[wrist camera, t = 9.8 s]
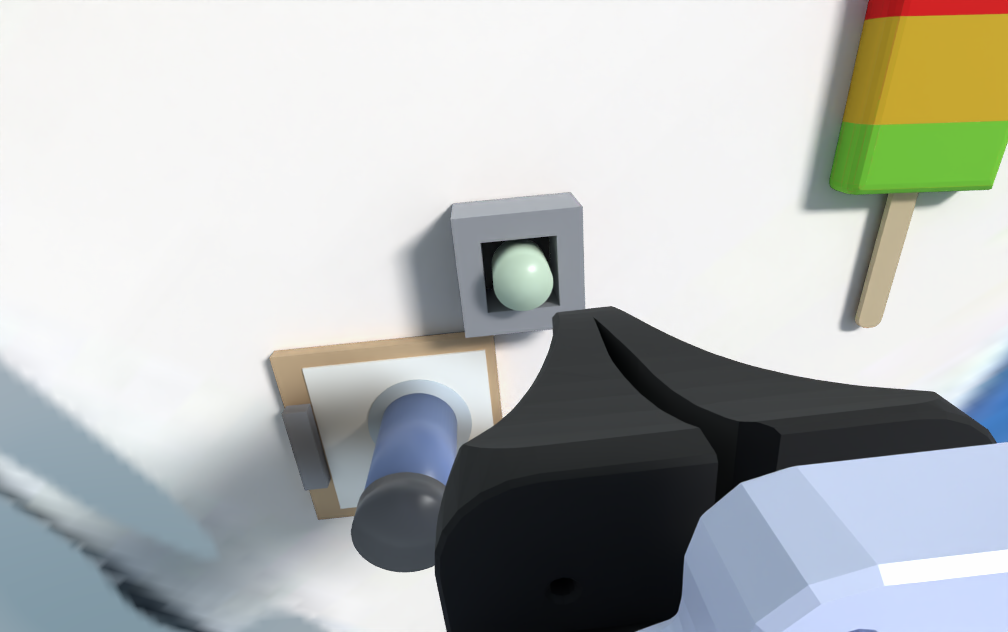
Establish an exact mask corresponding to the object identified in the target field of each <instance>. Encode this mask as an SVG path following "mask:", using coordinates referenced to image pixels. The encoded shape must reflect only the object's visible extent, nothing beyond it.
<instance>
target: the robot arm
mask: <svg viewBox="0 0 1008 632" xmlns="http://www.w3.org/2000/svg"><path fill="white" fill-rule="evenodd" d="M552 326H553V338H552V341H551V345H550V349H549V352H548V354H547V357H546V359H545V361H544V364H543V366H542V368H541V370H540V372H539V374H538V376H537V378H536V379H535V381H534V382H533V384H532V386H531V387H530V389H529V390H528V391H527V393H526V394H525V395H524V397H523V398H522V399H521V400H520V402H519V403H518V404H517V405H516V406H515V408H514V409H513V410H512V411H511V412H510V413H509V414H507V415H506V416H505V417H504V418H503V419H501V420H500V421H499V422H498V423H496V424H495V425H494V426H492V427H491V428H489V429H488V430H486V431H484V432H483V433H481V434H479V435H478V436H476V437H475V438H473V439H471V440H470V441H468V442H466V443H464V444H463V445H462V446H461V447H460V448H459V450H458V453H457V455H456V458H455V460H454V463H453V466H452V468H451V471H450V474H449V477H448V480H447V483H446V486H445V490H444V493H443V497H442V501H441V505H440V510H439V514H438V520H437V526H436V539H435V553H434V554H435V577H436V582H437V587H438V591H439V596H440V601H441V606H442V611H443V615H444V620H445V625H446V630H447V632H1008V442H1006V443H997V442H996V441H995V439H994V438H993V436H992V435H991V433H990V432H989V430H988V429H986V428H985V427H984V426H982V425H981V424H979V423H978V422H976V421H975V420H974V419H972V418H971V417H969V416H968V415H967V414H965V413H964V412H962V411H961V410H959V409H958V408H957V407H955V406H954V405H952V404H951V403H950V402H948V401H947V400H945V399H944V398H942V397H941V396H940V395H938V394H937V393H935V392H931V391H918V390H905V389H892V388H879V387H866V386H857V385H849V384H842V383H835V382H828V381H821V380H815V379H809V378H804V377H798V376H793V375H788V374H784V373H780V372H775V371H771V370H767V369H762V368H758V367H755V366H751V365H747V364H744V363H740V362H737V361H734V360H731V359H728V358H725V357H722V356H719V355H716V354H713V353H710V352H708V351H705V350H702V349H700V348H698V347H695V346H693V345H691V344H688V343H686V342H684V341H681V340H679V339H677V338H675V337H673V336H670V335H668V334H666V333H664V332H662V331H660V330H658V329H656V328H654V327H652V326H650V325H648V324H647V323H645V322H643V321H641V320H639V319H637V318H635V317H633V316H631V315H630V314H628V313H626V312H624V311H622V310H620V309H617V308H615V307H612V306H610V307H600V308H591V309H582V310H573V311H564V312H557V313H556V314H555V315H554V316H553V317H552Z"/></svg>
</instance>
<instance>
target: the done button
mask: <svg viewBox="0 0 1008 632" xmlns="http://www.w3.org/2000/svg"><path fill="white" fill-rule="evenodd" d="M492 276H493V286H494V291H495V294H496V296H497V298H498V299H499V301H500V302H501V303H502V304H503V305H505V306H506V307H508V308H510V309H512V310H516V311H528V310H532V309H535V308H537V307H539V306H540V305H542V304H543V303H544V302H545V301H546V300H547V299H548V297H549V296H550V294H551V291H552V288H553V276H552V273H551V271H550V268H549V266H548V263H547V261H546V258H545V256H544V253H543V251H542V250H541V248H540V247H539V246H538V245H537V244H536V243H534V242H533V241H531V240H528V239H516V240H508V241H506V242H504V243H503V244H501V245H500V246H499V247H498V248H497V250H496V251H495V253H494V255H493V258H492Z"/></svg>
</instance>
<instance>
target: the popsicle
mask: <svg viewBox="0 0 1008 632" xmlns="http://www.w3.org/2000/svg"><path fill="white" fill-rule="evenodd" d="M979 121H980V122H979ZM885 124H886V125H885ZM1007 143H1008V0H869V2H868V7H867V11H866V16H865V20H864V25H863V29H862V34H861V39H860V43H859V48H858V52H857V57H856V61H855V66H854V70H853V75H852V80H851V84H850V89H849V93H848V98H847V102H846V107H845V111H844V116H843V121H842V125H841V130H840V134H839V139H838V143H837V148H836V152H835V157H834V162H833V166H832V171H831V175H830V182H829V184H830V187H831V188H833V189H834V190H837V191H840V192H843V193H847V194H854V195H862V194H888V193H889V194H888V197H887V201H886V205H885V209H884V212H883V216H882V220H881V224H880V227H879V231H878V235H877V238H876V242H875V246H874V250H873V253H872V257H871V261H870V264H869V268H868V272H867V276H866V279H865V283H864V287H863V291H862V294H861V298H860V302H859V305H858V309H857V313H856V317H855V322H856V324H857V325H859V326H861V327H863V328H871V327H875V326H877V325H878V324H879V323H880V322H881V319H882V317H883V313H884V310H885V306H886V303H887V300H888V296H889V293H890V289H891V286H892V282H893V279H894V275H895V272H896V269H897V265H898V262H899V258H900V255H901V251H902V248H903V245H904V241H905V238H906V234H907V231H908V227H909V224H910V221H911V217H912V214H913V210H914V207H915V203H916V200H917V197H918V193H919V192H942V191H969V190H989V189H992V186H993V183H994V180H995V177H996V174H997V172H998V169H999V166H1000V163H1001V160H1002V157H1003V154H1004V151H1005V148H1006V146H1007Z"/></svg>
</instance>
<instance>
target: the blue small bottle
mask: <svg viewBox="0 0 1008 632" xmlns="http://www.w3.org/2000/svg"><path fill="white" fill-rule="evenodd" d="M456 455H457V418H456V415H455V413H454V411H453V410H452V408H451V407H450V406H449V405H448V404H447V403H446V402H445V401H443V400H442V399H440V398H438V397H436V396H433V395H430V394H425V393H413V394H408V395H404V396H402V397H400V398H398V399H396V400H395V401H393V402H392V403H391V404H390V405H389V406H388V407H387V409H386V410H385V412H384V414H383V417H382V421H381V425H380V429H379V433H378V437H377V441H376V445H375V449H374V453H373V457H372V461H371V465H370V469H369V473H368V477H367V481H366V485H365V489H364V491H363V493H362V494H361V496H360V498H359V501H358V504H357V508H356V512H355V516H354V520H353V524H352V529H351V536H352V541H353V544H354V546H355V548H356V550H357V551H358V552H359V554H360V555H361V556H362V557H363V558H364V559H366V560H367V561H368V562H370V563H371V564H373V565H375V566H377V567H380V568H382V569H385V570H389V571H395V572H415V571H420V570H424V569H427V568H430V567H432V566H434V565H435V554H434V553H435V539H436V526H437V520H438V514H439V510H440V505H441V501H442V497H443V493H444V490H445V486H446V483H447V480H448V477H449V474H450V471H451V468H452V466H453V463H454V460H455V458H456Z"/></svg>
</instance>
